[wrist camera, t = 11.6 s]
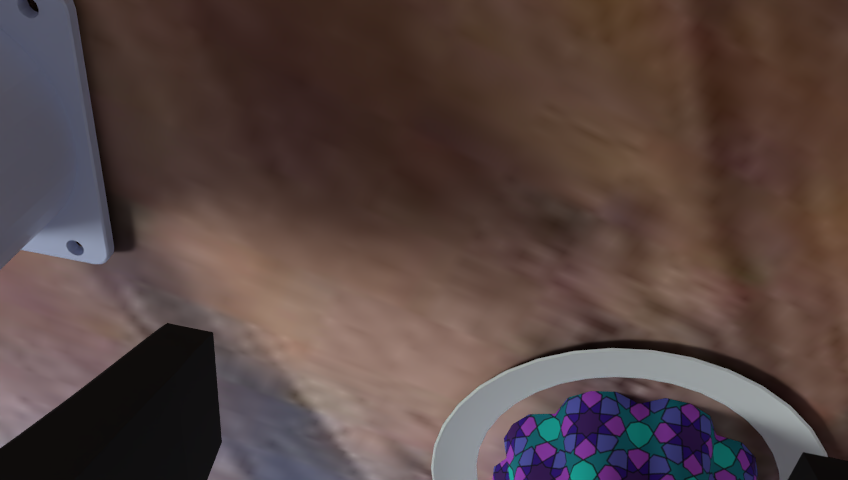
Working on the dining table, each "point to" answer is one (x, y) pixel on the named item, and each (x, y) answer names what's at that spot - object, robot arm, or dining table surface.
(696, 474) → the pudding
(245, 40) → the dining table surface
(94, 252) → the robot arm
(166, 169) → the dining table surface
